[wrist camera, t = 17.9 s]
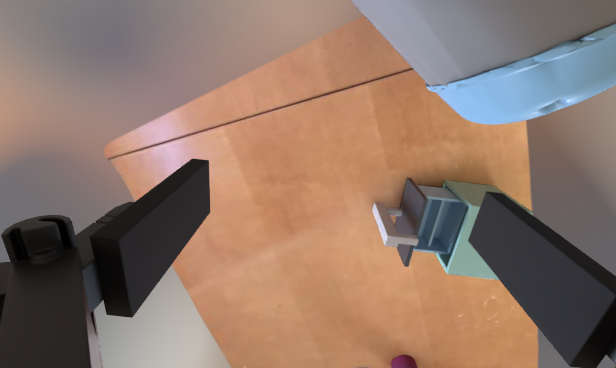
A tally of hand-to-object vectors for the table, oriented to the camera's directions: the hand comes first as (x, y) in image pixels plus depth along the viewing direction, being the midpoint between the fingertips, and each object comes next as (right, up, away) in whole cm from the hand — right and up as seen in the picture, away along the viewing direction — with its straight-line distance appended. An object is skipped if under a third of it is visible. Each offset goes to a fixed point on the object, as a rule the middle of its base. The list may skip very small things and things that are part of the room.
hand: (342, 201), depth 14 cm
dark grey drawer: (+15, -3, +33) cm, 37 cm away
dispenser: (+23, -4, +34) cm, 41 cm away
